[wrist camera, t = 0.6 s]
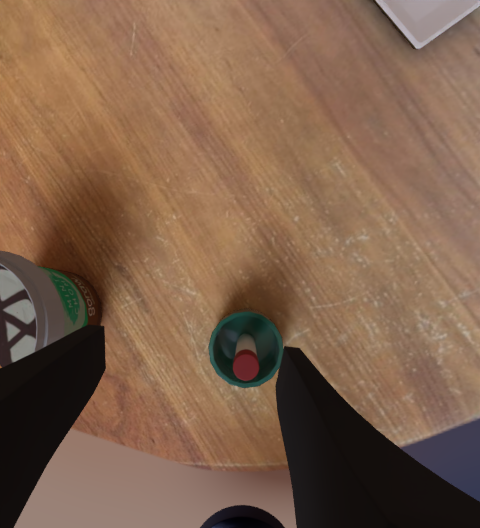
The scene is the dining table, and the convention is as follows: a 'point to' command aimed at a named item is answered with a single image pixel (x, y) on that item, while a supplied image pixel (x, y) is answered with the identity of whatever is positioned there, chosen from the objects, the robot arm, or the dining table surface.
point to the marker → (246, 358)
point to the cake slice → (40, 306)
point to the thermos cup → (265, 342)
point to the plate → (425, 17)
